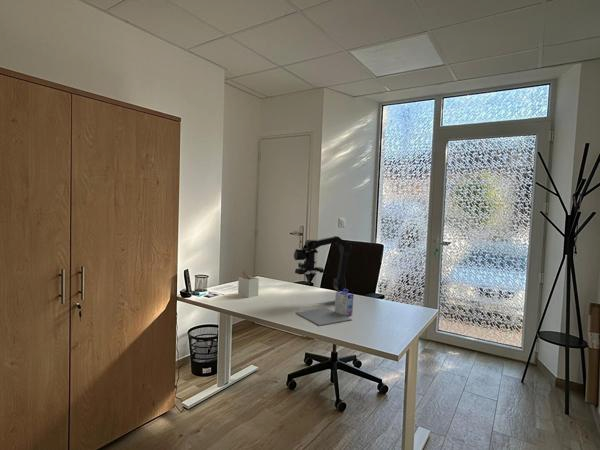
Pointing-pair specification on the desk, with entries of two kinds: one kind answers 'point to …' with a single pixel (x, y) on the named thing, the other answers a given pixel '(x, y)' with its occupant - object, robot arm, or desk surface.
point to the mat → (323, 316)
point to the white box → (248, 286)
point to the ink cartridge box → (344, 303)
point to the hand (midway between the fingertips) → (309, 284)
